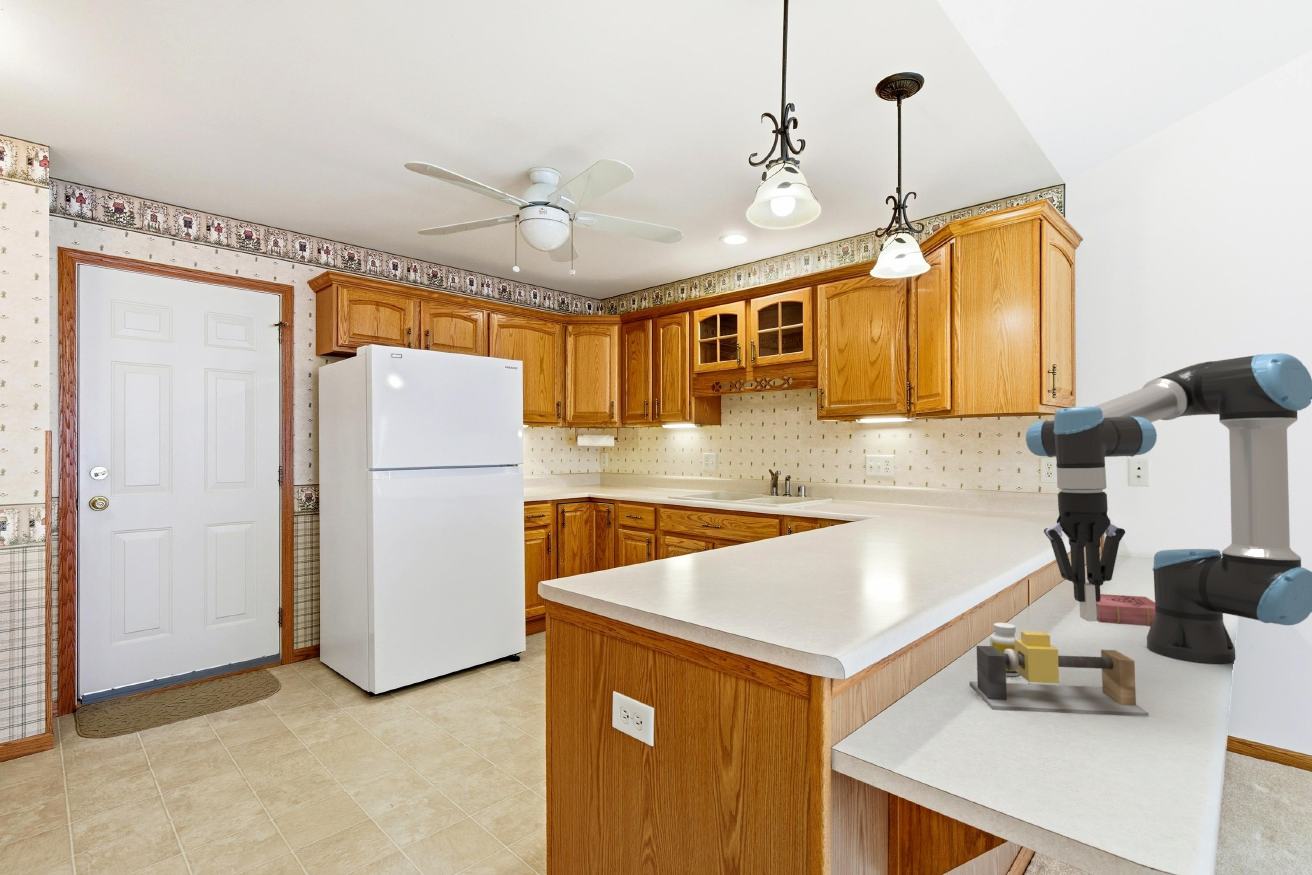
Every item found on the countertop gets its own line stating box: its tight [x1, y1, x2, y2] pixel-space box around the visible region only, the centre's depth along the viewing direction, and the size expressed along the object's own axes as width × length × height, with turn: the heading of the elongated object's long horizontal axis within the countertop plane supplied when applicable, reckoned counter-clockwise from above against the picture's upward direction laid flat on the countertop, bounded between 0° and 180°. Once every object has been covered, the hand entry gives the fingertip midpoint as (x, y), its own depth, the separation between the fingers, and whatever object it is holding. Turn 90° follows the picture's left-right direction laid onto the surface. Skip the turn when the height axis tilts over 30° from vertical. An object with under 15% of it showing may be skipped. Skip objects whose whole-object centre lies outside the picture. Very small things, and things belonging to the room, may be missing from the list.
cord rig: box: [969, 645, 1150, 717], centre depth 115 cm, size 25×12×9 cm, turn 81°
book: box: [1096, 593, 1155, 627], centre depth 170 cm, size 14×15×5 cm
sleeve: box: [1014, 630, 1060, 684], centre depth 116 cm, size 5×6×8 cm
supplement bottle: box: [989, 622, 1021, 677], centre depth 130 cm, size 5×5×10 cm
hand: (1088, 619), depth 115 cm, fingers closed
